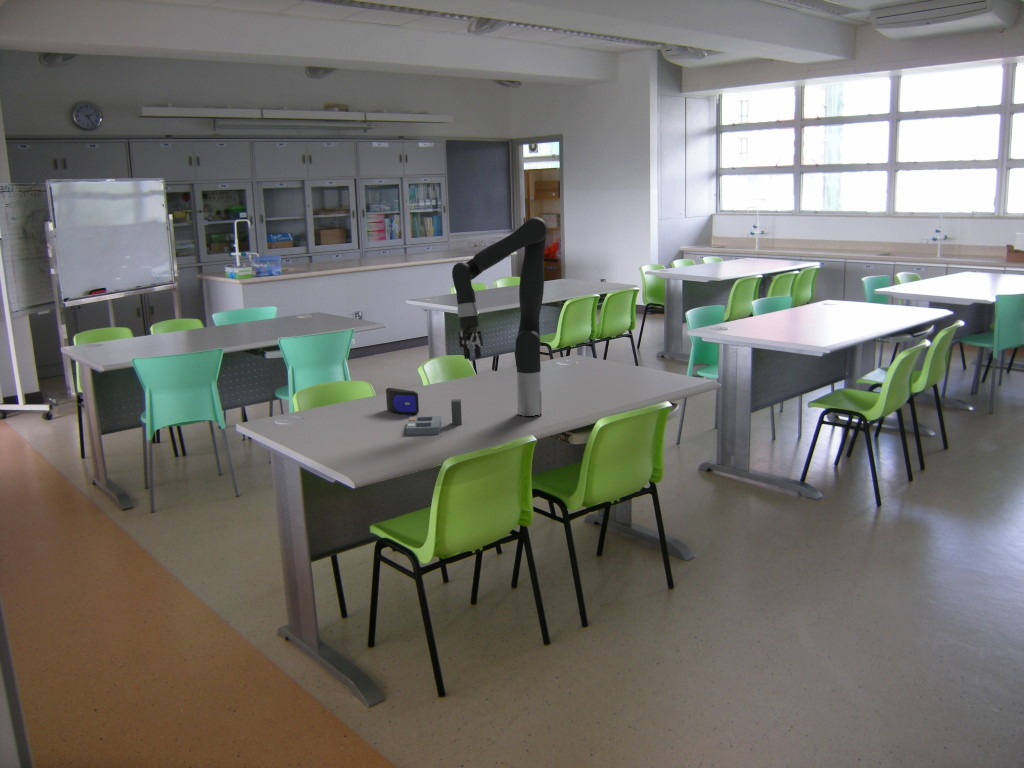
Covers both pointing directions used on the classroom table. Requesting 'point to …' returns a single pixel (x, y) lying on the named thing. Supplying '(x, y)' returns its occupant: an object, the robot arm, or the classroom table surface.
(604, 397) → the classroom table surface
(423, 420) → the socket strip
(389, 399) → the leaning round-cornered charcoal block
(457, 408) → the dark gray upright block
